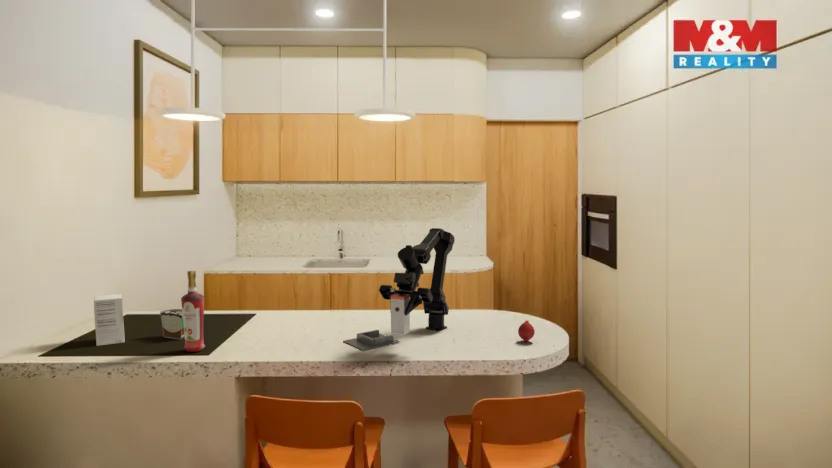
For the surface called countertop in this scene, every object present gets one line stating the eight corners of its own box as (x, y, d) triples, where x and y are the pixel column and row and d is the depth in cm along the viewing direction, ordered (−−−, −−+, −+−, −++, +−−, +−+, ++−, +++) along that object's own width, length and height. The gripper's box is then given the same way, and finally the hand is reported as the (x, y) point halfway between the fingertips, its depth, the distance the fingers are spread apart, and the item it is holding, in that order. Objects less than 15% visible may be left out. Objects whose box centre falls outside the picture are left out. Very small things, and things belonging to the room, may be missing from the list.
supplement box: (96, 339, 205) (93, 295, 204) (123, 336, 210) (121, 293, 208) (96, 346, 197) (93, 300, 195) (125, 342, 201) (122, 297, 200)
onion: (524, 344, 196) (525, 322, 195) (514, 340, 201) (515, 319, 200) (537, 342, 199) (537, 320, 198) (527, 338, 204) (527, 317, 203)
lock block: (396, 329, 191) (396, 293, 190) (409, 331, 189) (409, 294, 188) (390, 333, 187) (390, 295, 185) (403, 334, 184) (403, 296, 183)
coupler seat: (379, 334, 210) (379, 327, 210) (400, 342, 199) (400, 335, 199) (343, 341, 201) (342, 334, 200) (363, 350, 190) (363, 343, 189)
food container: (196, 336, 210) (195, 310, 209) (184, 340, 204) (182, 313, 203) (173, 332, 215) (172, 307, 214) (160, 336, 209) (159, 310, 208)
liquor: (179, 353, 188) (175, 272, 185) (189, 347, 195) (186, 269, 192) (200, 353, 187) (197, 272, 185) (209, 347, 195) (206, 269, 192)
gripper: (380, 262, 193) (366, 298, 184) (429, 264, 185) (416, 303, 176) (391, 280, 201) (377, 316, 192) (438, 283, 193) (426, 321, 184)
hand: (398, 314), depth 186 cm, fingers closed on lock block, 5 cm apart
